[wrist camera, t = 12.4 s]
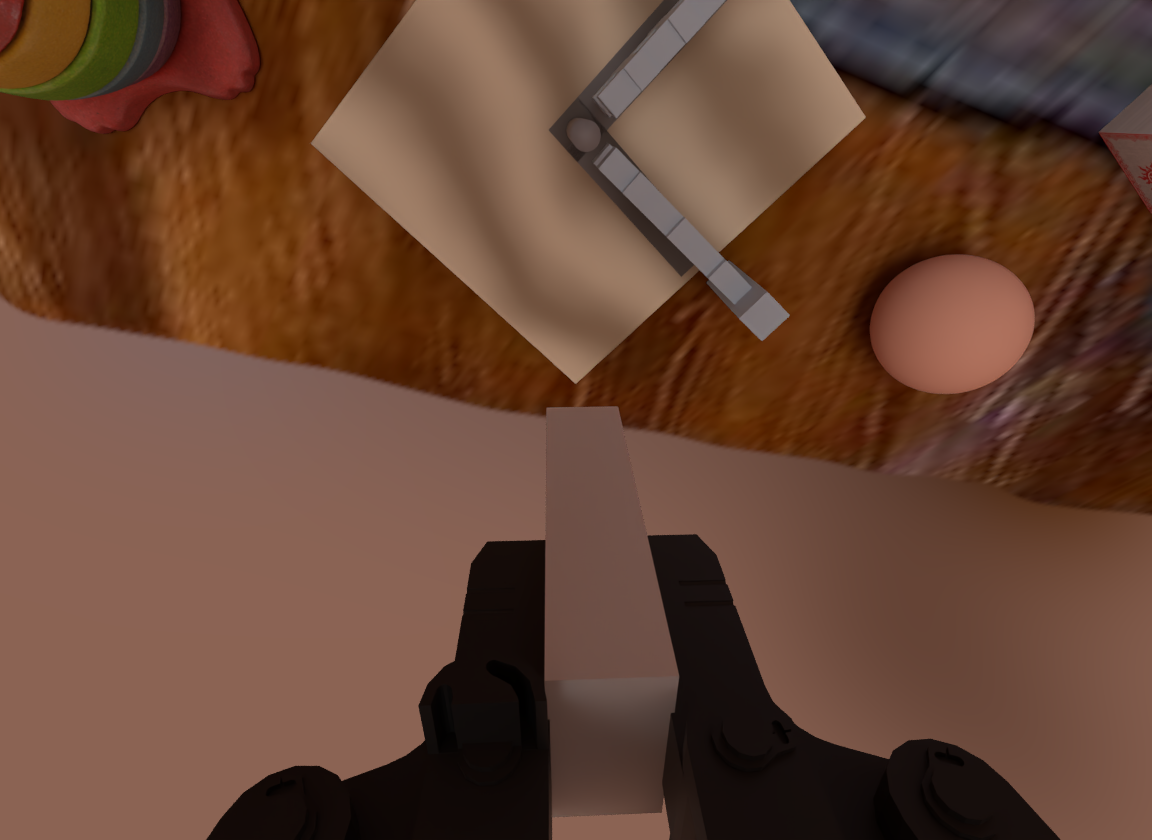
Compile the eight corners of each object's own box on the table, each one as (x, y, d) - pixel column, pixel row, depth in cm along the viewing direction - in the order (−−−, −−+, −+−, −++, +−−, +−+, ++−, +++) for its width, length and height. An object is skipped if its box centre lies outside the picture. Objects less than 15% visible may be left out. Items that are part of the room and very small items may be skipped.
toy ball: (945, 364, 39) (1031, 419, 32) (833, 362, 39) (896, 417, 32) (989, 242, 36) (1097, 274, 29) (865, 239, 35) (944, 270, 28)
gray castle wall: (587, 164, 32) (596, 177, 26) (610, 137, 31) (624, 143, 25) (725, 302, 35) (761, 341, 29) (748, 280, 35) (790, 315, 29)
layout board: (612, -261, 25) (614, -271, 24) (860, 117, 32) (866, 117, 31) (314, 142, 31) (310, 143, 31) (575, 380, 39) (575, 384, 38)
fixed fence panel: (738, -78, 27) (805, -144, 20) (761, -44, 28) (833, -96, 21) (557, 125, 31) (560, 129, 24) (581, 151, 32) (590, 163, 25)
